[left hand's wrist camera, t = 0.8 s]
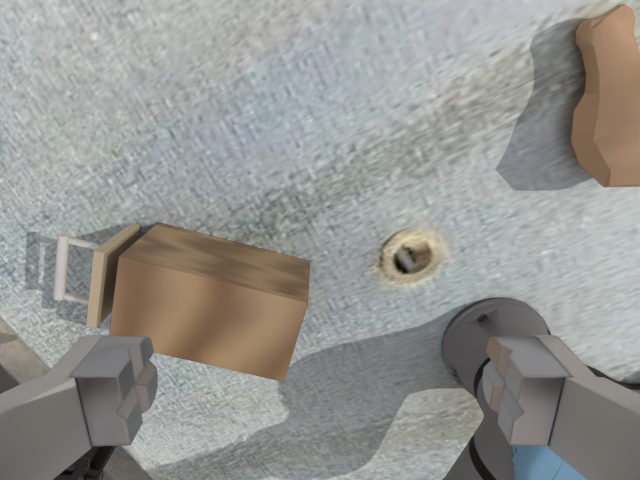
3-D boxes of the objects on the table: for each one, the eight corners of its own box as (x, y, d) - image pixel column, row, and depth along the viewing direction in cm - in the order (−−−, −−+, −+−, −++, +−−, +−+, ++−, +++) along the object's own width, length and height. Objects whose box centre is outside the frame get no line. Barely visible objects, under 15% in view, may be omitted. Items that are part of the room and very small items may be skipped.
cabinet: (146, 294, 60) (108, 342, 49) (158, 222, 57) (118, 256, 45) (290, 328, 62) (283, 382, 51) (310, 261, 58) (308, 303, 47)
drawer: (81, 278, 58) (36, 315, 49) (88, 211, 55) (41, 237, 46) (261, 321, 61) (251, 365, 51) (278, 259, 57) (269, 294, 48)
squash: (575, 195, 55) (603, 211, 47) (533, 41, 51) (556, 28, 43) (671, 165, 52) (720, 177, 44) (634, -1, 48) (681, -24, 40)
